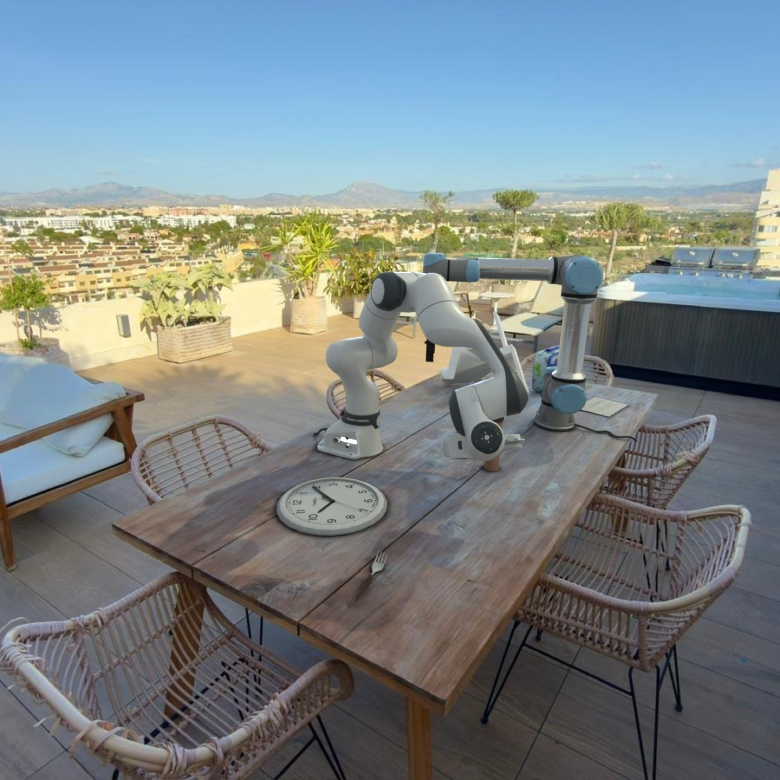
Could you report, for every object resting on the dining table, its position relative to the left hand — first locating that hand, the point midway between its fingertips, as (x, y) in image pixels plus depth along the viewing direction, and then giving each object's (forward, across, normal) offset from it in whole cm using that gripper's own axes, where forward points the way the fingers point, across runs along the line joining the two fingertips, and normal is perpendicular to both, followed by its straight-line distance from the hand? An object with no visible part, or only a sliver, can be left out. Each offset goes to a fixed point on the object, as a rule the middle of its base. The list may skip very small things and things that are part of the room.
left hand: (481, 447), depth 143 cm
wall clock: (-3, +42, +12) cm, 44 cm away
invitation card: (+88, -57, -19) cm, 106 cm away
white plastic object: (+97, -7, -32) cm, 102 cm away
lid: (+17, -6, -11) cm, 21 cm away
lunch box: (+106, -41, -31) cm, 118 cm away
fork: (-29, +28, +28) cm, 50 cm away
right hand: (+38, +12, -37) cm, 55 cm away
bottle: (+25, -4, +5) cm, 26 cm away
